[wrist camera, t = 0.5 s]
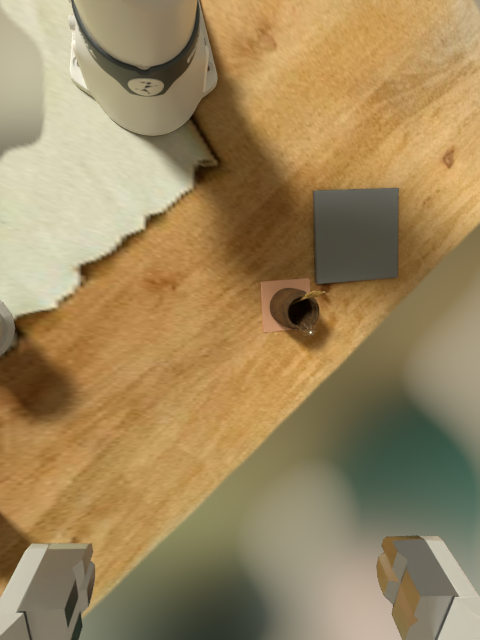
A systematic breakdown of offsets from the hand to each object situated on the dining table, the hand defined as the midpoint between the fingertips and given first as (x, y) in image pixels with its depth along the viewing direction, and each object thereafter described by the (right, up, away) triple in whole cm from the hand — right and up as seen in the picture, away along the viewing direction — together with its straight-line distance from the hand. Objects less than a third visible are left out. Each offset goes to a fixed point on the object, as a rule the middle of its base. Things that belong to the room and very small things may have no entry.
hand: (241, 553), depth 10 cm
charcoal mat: (+18, +20, +46) cm, 54 cm away
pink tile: (+7, +9, +46) cm, 47 cm away
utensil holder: (+7, +9, +46) cm, 47 cm away
